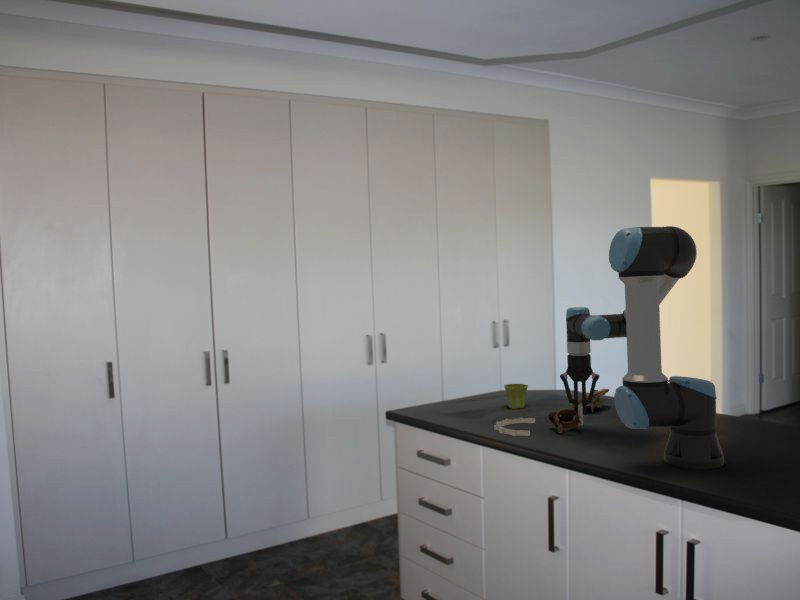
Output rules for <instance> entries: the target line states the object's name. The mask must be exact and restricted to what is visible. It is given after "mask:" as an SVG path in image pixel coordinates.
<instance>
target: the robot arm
mask: <svg viewBox="0 0 800 600" xmlns="http://www.w3.org/2000/svg"><path fill="white" fill-rule="evenodd" d="M696 259H697V245H696V242H695V241H694V238H693V237H692V236H691V234H689V233H688V232H687V231H686V230H684V229H682V228H680V227H677V226H669V225H668V226H634V227H627V228H622V229H619V231H617V232H616V233H615V234H614V236H613V238H612V239H611V242H610V245H609V250H608V263H609V264H610V267H611V269H612V271H614V272H617V274H618V279H619V280H620V281H621V282H622V283H623V285H624V300H625V303H624V304H625V309H624V310H623V312H622V313H615V314H597V315H592V314H591V313H590V308H589V307H586V306H585V307H583V306H577V307H568V308H567V309H566V315H565V321H566V323H565V324H566V353H567V368H566V371H565V372H563V373H561V374H560V375H559V378H560V380H561V381H562V383H563V386H564V389H565V390H564V391H565V393H566V397H567V401H568V403H569V404H572V405H573V404H574V407H575V408H574V411H576V412H577V413H578V415H579V416H580V418H579V420H580V421H581V424H578V426H583V425H584V416H585V415H586V416H587V405H589V404H590V405H591V402H592V398H593V394H594V390H596V385H597V382H598V380H599V379H600V375H599V374H598V373H596V372H594V371H593V370H594V369H593V367H592V356H591V354H590V353H591V351H592V350H591V341H602V340H604V339H616V338H617V339H618V338H626V353H627V358H626V359H627V373H626V374H625V375H623V377H622V385H619V386H618V387H616V389H615V392H614V395H613V398H614V399H613V400H614V407H615V410H616V413H617V416H618V417H619V419H620V420H621V422H622V423H623V424H624V426H626V427H627V428H629V429H632V430H638V429H639V430H641V429H642V430H648V429H655V428H667V427H669V436H668V439H667V442H666V444H665V447H664V450H663V461H664V462H665V463H666V464H669V465H671V466H673V467H678V468H681V467H682V468H681V469H688V468H689V469H688V470H712V469H713V470H714V469H718V468H721V467H722V466H724V464H725V457H724V456H725V455H724V452H723V449H722V447H721V443H720V441H719V439H718V435H717V393H716V386H715V384H714V383H713V382H712V381H709V380H707V379H702V378H696V377H690V376H679V375H678V376H677V375H673V376H669V378H668V376H667V375H666V374H664V373H663V372H662V369H663V368H662V367H663V365H662V345H661V343H662V342H661V321H660V320H661V317H660V312H661V311H660V305H661V303H662V302H663V301H664V299H665V298H666V297H667V296H668V294H670V293H669V292H671V290H672V289H673V287H674V286H675V285H676V284H677V282H678V281H679V279H683V278H685V277H686V276H687V275H689V273H690V272H691V270H692V269H693V267H694V265H695V262H696ZM568 377H569V378H570V379H571V381H572V382H573V396H572V393H571V388H570V385H569V381H568ZM590 377H591V380H592V381H591V385H590V390H589V393H590V394H589V398H588V399H587V400H586V395H587V386H586V385H587V381H588V380H589V378H590ZM579 383H581V398H582V404H578V400H579Z"/></svg>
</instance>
